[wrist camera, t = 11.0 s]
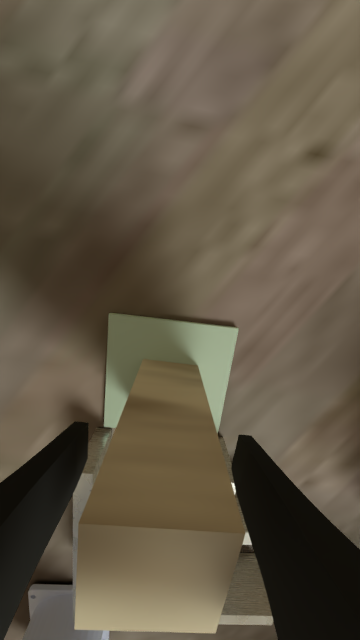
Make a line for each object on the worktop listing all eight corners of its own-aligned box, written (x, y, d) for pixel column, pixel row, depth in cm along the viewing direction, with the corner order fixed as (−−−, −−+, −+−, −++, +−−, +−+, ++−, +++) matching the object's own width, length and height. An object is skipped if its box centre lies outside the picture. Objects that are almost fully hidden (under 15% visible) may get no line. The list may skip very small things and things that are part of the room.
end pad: (216, 431, 15) (217, 435, 15) (105, 423, 14) (103, 426, 14) (236, 327, 13) (238, 328, 13) (110, 312, 13) (108, 313, 12)
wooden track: (253, 561, 19) (271, 625, 15) (92, 555, 18) (72, 621, 14) (289, 442, 15) (322, 488, 12) (96, 427, 15) (72, 472, 11)
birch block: (189, 412, 14) (215, 633, 5) (137, 407, 14) (74, 629, 5) (197, 365, 13) (245, 533, 4) (143, 358, 13) (78, 523, 4)
